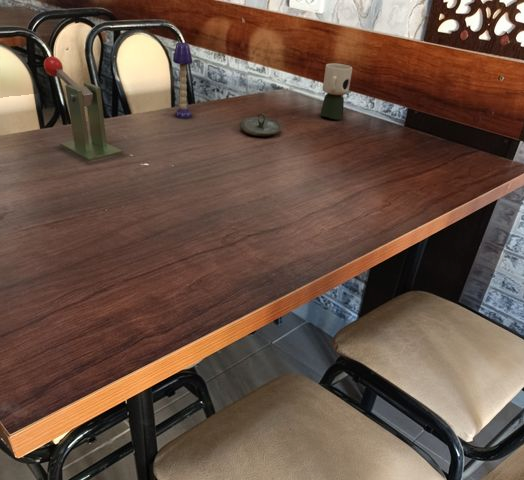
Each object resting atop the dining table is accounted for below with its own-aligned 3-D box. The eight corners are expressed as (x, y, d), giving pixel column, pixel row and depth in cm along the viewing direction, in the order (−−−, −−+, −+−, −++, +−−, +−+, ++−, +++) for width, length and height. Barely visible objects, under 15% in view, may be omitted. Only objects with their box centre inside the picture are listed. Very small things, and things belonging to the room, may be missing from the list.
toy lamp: (196, 117, 132) (196, 44, 121) (184, 120, 129) (182, 45, 118) (183, 113, 134) (181, 40, 123) (170, 116, 131) (167, 42, 120)
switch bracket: (60, 148, 107) (49, 82, 99) (93, 142, 112) (85, 77, 104) (89, 164, 102) (79, 95, 94) (123, 156, 106) (116, 90, 98)
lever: (40, 71, 104) (39, 53, 101) (56, 69, 106) (56, 52, 103) (79, 110, 100) (80, 92, 97) (95, 107, 102) (96, 90, 99)
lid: (272, 132, 132) (271, 111, 130) (289, 133, 124) (288, 111, 122) (234, 136, 129) (232, 114, 126) (249, 138, 120) (247, 115, 118)
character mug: (339, 125, 137) (348, 71, 128) (314, 120, 138) (321, 67, 130) (347, 115, 145) (356, 64, 136) (323, 111, 146) (330, 60, 138)
